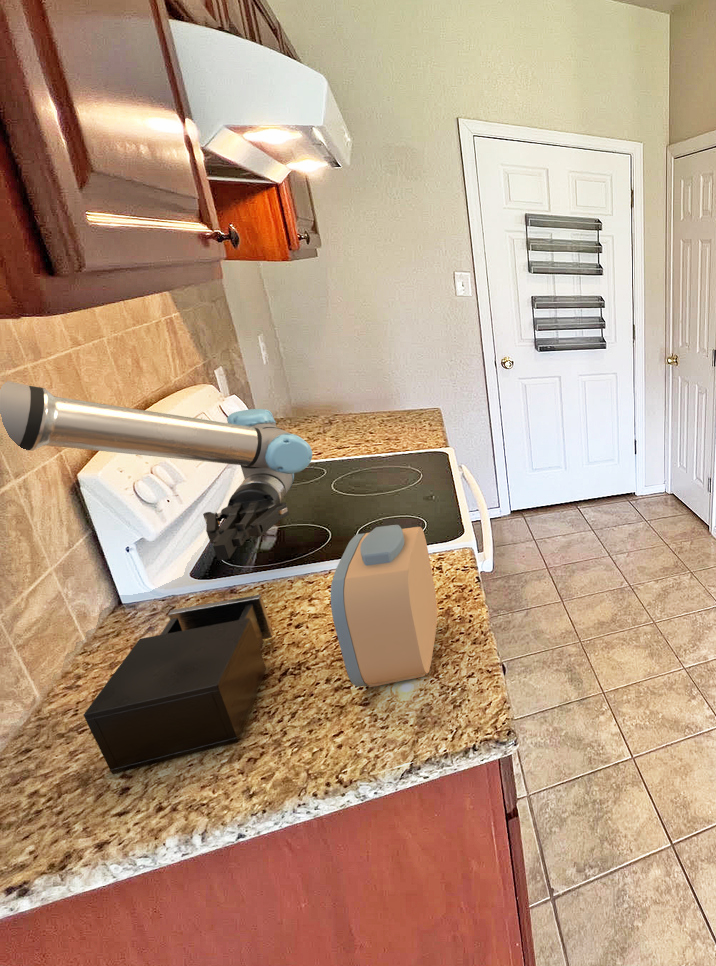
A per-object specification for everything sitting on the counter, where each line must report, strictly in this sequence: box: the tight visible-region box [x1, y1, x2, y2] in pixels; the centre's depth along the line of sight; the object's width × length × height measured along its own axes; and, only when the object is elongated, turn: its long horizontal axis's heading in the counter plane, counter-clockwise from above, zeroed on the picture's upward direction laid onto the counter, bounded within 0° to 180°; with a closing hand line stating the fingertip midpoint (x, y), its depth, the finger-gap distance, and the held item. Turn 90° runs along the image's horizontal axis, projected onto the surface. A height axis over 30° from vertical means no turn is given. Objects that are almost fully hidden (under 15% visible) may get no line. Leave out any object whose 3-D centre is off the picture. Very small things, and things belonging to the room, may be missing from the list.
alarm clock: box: [330, 524, 438, 688], centre depth 88 cm, size 21×10×22 cm, turn 20°
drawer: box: [159, 593, 274, 651], centre depth 88 cm, size 19×11×8 cm, turn 25°
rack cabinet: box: [83, 618, 267, 775], centre depth 78 cm, size 16×13×10 cm
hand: (221, 552), depth 94 cm, fingers closed
